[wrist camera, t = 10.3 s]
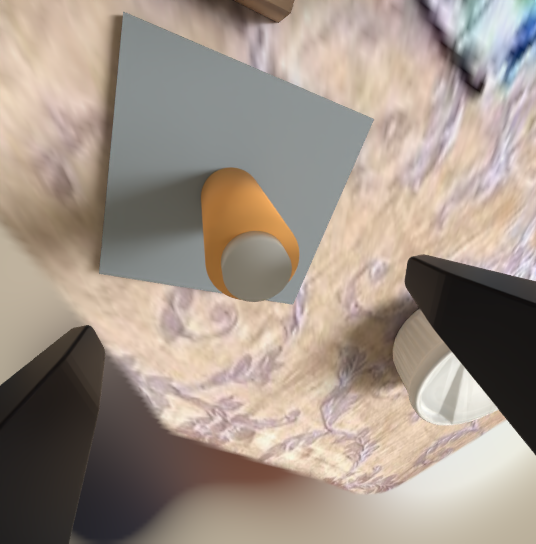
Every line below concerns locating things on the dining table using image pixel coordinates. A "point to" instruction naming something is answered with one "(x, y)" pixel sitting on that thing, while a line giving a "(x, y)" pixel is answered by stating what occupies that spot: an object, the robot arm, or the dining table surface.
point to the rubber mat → (213, 155)
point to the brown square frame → (269, 7)
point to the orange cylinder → (245, 238)
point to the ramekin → (436, 376)
